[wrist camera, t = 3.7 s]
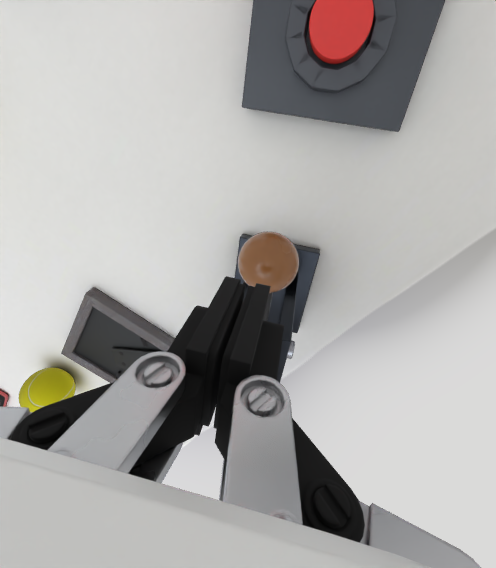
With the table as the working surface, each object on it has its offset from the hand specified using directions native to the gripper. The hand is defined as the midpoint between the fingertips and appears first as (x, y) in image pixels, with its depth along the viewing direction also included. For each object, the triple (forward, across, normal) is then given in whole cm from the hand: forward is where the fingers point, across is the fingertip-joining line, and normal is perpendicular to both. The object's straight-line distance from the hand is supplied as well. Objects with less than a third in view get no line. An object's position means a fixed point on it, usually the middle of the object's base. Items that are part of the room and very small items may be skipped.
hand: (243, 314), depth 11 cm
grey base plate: (+19, -1, -12) cm, 23 cm away
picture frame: (+20, +17, +25) cm, 36 cm away
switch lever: (+9, 0, +4) cm, 10 cm away
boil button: (+16, -1, -12) cm, 20 cm away
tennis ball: (+20, +30, +34) cm, 49 cm away
